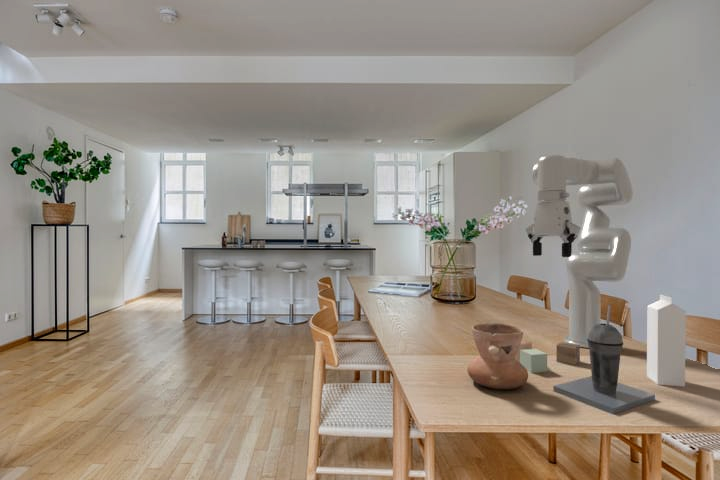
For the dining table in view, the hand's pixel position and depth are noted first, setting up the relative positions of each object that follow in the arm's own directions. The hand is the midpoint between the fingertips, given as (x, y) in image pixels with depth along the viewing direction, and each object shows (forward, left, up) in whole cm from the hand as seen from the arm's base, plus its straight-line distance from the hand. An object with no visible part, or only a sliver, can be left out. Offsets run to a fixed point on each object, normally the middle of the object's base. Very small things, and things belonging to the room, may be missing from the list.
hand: (551, 256), depth 117 cm
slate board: (+11, +22, -31) cm, 40 cm away
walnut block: (-5, +2, -31) cm, 32 cm away
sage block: (+10, +2, -31) cm, 33 cm away
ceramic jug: (+27, +5, -32) cm, 42 cm away
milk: (-12, +24, -32) cm, 41 cm away
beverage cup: (+11, +23, -30) cm, 39 cm away
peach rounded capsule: (+8, -4, -31) cm, 33 cm away
